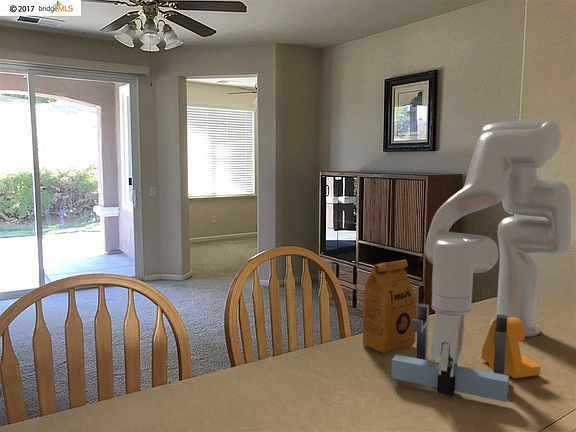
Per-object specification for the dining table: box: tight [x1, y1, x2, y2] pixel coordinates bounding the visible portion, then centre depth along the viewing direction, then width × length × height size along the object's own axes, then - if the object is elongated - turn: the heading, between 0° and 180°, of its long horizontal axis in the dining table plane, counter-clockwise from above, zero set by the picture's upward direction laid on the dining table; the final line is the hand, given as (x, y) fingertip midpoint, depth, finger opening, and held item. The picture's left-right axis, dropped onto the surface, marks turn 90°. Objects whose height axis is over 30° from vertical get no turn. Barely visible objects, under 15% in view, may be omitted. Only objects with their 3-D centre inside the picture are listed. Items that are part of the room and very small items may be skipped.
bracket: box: [480, 317, 542, 379], centre depth 108 cm, size 11×7×12 cm, turn 16°
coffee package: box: [362, 259, 417, 354], centre depth 120 cm, size 10×12×22 cm
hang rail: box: [391, 354, 510, 403], centre depth 96 cm, size 3×22×4 cm, turn 63°
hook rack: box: [412, 303, 510, 399], centre depth 102 cm, size 8×20×15 cm, turn 63°
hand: (447, 388), depth 97 cm, fingers closed on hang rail, 3 cm apart
